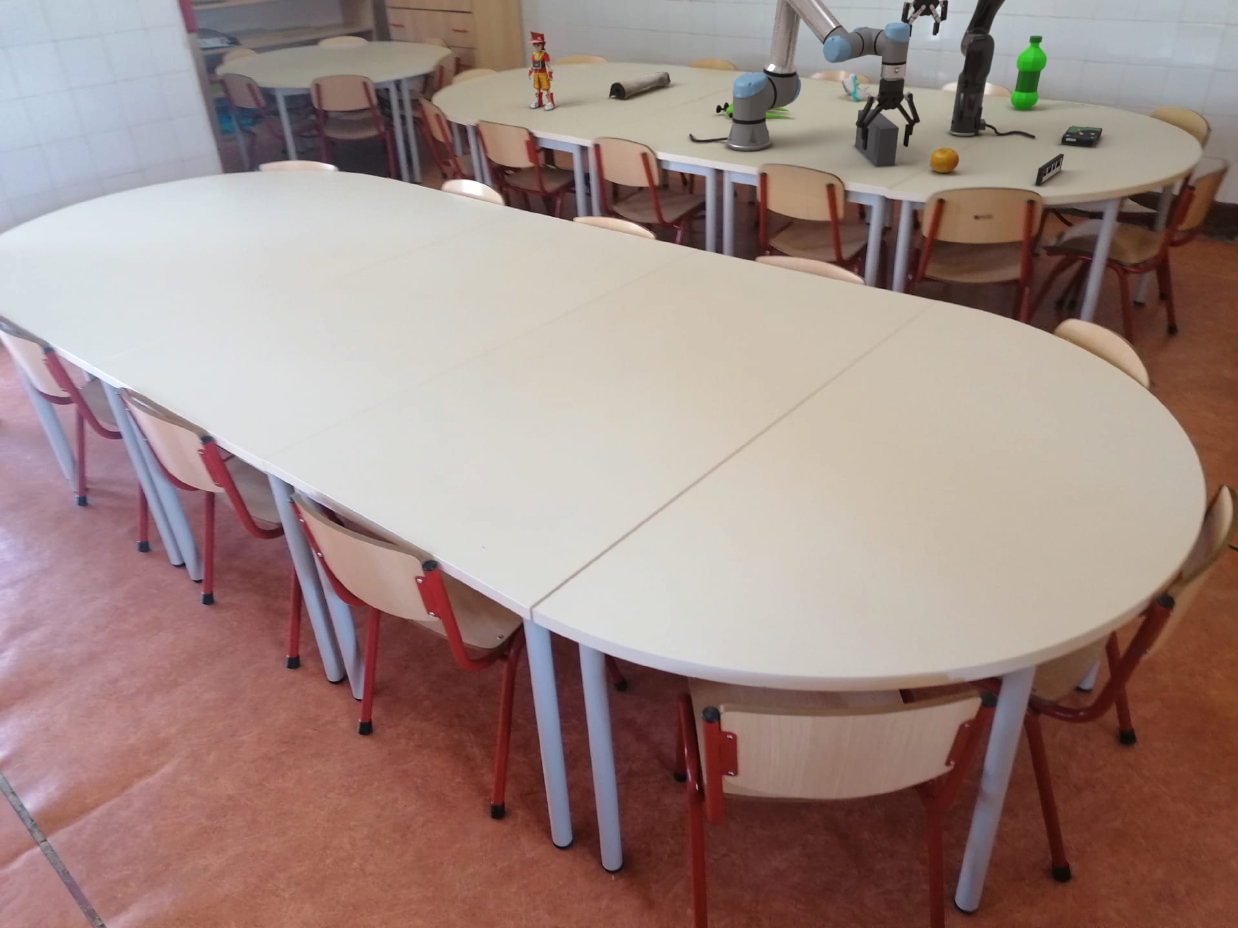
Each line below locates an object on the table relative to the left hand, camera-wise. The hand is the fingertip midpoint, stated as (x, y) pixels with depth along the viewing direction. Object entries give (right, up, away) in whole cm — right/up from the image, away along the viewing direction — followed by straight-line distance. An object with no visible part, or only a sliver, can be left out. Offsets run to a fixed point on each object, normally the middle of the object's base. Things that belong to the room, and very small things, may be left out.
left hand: (885, 147), depth 292 cm
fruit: (+16, -10, -7) cm, 21 cm away
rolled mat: (-77, +62, +105) cm, 144 cm away
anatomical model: (+10, +48, +77) cm, 91 cm away
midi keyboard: (+45, -16, -17) cm, 51 cm away
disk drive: (+70, +7, +12) cm, 72 cm away
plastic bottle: (+67, +33, +50) cm, 90 cm away
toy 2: (-32, +35, +62) cm, 78 cm away
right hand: (+13, +38, +3) cm, 40 cm away
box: (0, +1, +11) cm, 11 cm away
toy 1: (-120, +49, +91) cm, 158 cm away
